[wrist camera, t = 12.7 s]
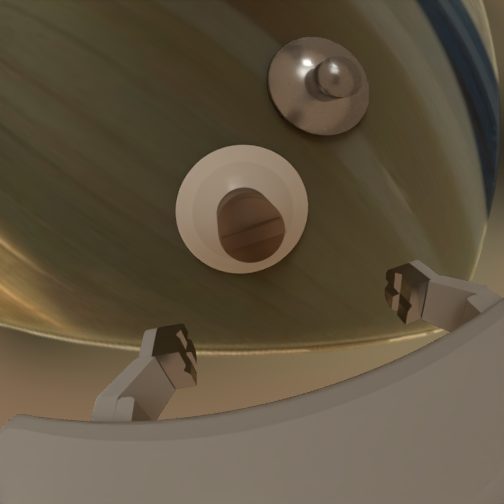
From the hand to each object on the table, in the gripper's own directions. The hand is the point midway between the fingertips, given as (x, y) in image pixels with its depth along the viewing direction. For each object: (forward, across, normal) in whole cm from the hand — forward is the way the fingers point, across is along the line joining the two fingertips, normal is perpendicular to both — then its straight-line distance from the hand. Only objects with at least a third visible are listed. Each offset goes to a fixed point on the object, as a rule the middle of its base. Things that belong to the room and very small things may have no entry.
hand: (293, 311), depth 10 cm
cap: (+15, 0, +1) cm, 15 cm away
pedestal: (+17, -9, -10) cm, 22 cm away
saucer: (+17, 0, +1) cm, 17 cm away
